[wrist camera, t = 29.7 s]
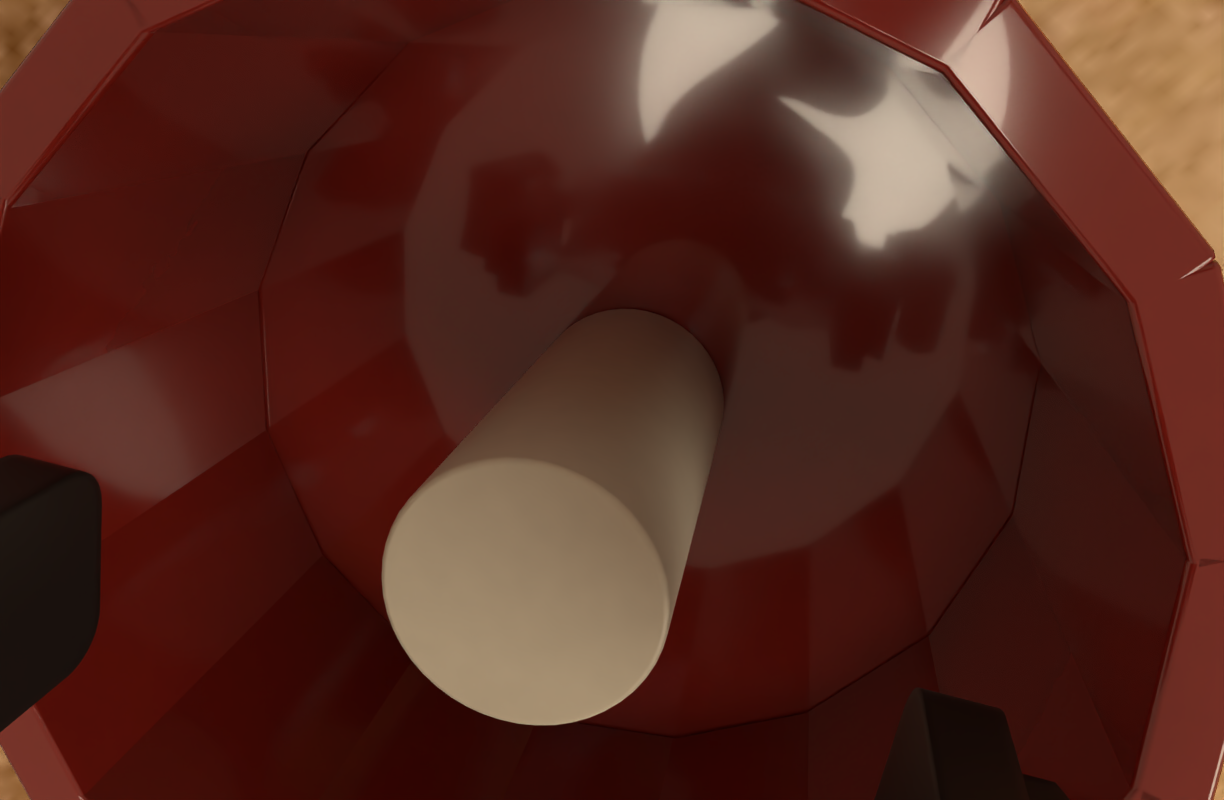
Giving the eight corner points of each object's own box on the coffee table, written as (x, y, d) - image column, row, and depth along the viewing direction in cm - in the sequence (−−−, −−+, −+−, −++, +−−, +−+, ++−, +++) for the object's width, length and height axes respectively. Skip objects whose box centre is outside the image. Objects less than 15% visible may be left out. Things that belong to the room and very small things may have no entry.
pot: (104, 119, 19) (-329, 156, 12) (945, -236, 15) (1063, -503, 8) (415, 807, 22) (227, 1160, 15) (1165, 665, 18) (1388, 1051, 11)
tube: (509, 339, 18) (334, 501, 11) (689, 283, 17) (610, 423, 11) (574, 507, 19) (442, 752, 12) (748, 462, 18) (709, 697, 11)
